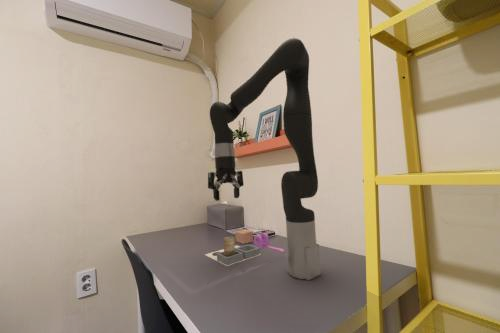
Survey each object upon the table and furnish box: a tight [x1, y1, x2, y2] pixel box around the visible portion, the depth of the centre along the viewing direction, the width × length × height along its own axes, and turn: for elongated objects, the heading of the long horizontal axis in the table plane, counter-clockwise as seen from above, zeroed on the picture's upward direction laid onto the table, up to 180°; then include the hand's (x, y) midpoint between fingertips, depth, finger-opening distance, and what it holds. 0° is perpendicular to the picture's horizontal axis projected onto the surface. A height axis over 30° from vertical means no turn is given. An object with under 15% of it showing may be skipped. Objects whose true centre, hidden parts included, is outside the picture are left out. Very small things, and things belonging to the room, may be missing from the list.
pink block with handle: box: [253, 232, 285, 253], centre depth 98 cm, size 13×6×7 cm, turn 47°
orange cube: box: [234, 228, 254, 244], centre depth 110 cm, size 6×6×6 cm
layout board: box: [204, 243, 262, 267], centre depth 93 cm, size 17×16×4 cm
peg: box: [223, 236, 236, 257], centre depth 87 cm, size 4×4×8 cm
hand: (227, 199), depth 87 cm, fingers open, 8 cm apart
